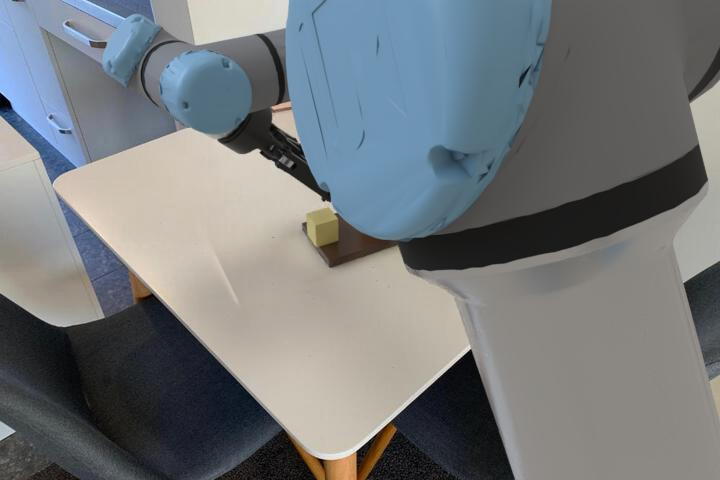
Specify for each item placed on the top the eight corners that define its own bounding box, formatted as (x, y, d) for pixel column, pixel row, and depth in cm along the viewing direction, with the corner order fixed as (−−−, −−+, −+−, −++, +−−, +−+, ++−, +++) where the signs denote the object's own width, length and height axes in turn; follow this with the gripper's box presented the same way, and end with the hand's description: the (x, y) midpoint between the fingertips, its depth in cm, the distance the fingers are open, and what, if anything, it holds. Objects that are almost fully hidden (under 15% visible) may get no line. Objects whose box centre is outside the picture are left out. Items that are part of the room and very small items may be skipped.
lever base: (329, 267, 82) (326, 176, 72) (302, 229, 90) (295, 142, 79) (453, 226, 91) (467, 139, 81) (419, 194, 99) (427, 111, 88)
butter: (316, 247, 84) (315, 225, 81) (307, 235, 86) (305, 213, 83) (338, 240, 85) (338, 218, 82) (329, 228, 88) (328, 206, 85)
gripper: (280, 126, 58) (395, 207, 74) (223, 63, 73) (329, 141, 89) (240, 178, 59) (361, 246, 75) (192, 106, 74) (302, 175, 90)
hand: (344, 189), depth 82 cm, fingers closed on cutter, 9 cm apart
